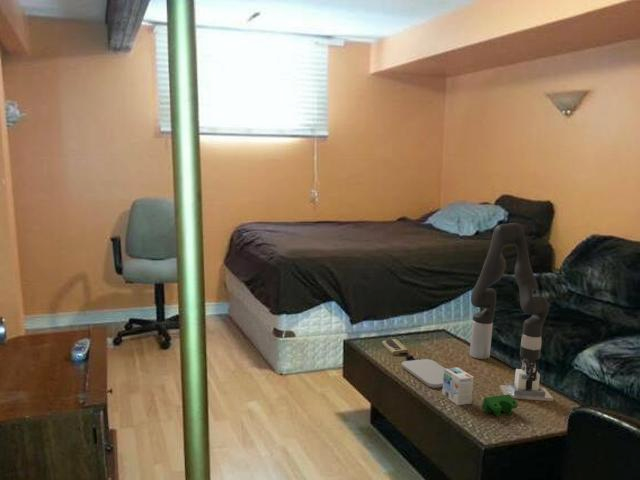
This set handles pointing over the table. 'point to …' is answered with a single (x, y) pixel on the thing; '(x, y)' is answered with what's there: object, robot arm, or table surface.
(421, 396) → the table surface
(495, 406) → the clamp
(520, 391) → the grey flat block
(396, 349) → the computer
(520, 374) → the block
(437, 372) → the tablet
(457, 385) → the light bulb box
